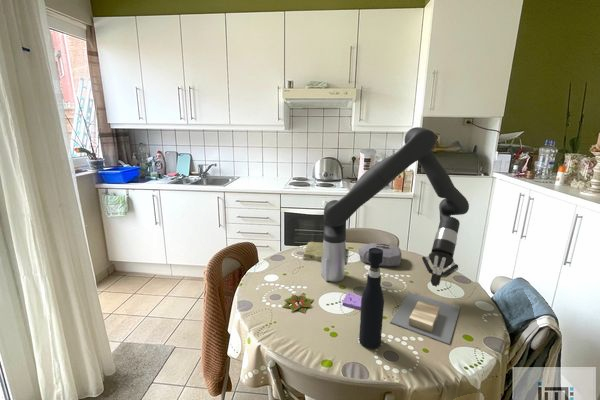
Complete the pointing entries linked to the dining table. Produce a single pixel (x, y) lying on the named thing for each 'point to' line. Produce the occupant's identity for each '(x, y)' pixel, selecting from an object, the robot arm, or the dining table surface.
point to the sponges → (352, 301)
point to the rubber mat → (442, 325)
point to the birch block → (424, 316)
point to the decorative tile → (314, 251)
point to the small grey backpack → (389, 254)
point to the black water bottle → (372, 303)
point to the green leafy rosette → (298, 299)
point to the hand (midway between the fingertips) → (434, 285)
